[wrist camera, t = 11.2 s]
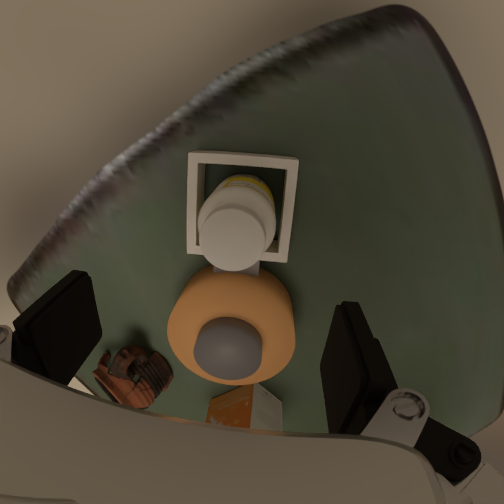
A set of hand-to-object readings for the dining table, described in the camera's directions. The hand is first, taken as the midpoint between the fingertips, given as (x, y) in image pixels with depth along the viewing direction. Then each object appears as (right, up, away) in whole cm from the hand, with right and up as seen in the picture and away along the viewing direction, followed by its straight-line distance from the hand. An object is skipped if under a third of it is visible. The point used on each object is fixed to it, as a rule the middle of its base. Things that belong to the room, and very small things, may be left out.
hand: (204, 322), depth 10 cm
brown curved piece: (-13, -12, +25) cm, 31 cm away
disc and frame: (0, +2, +18) cm, 18 cm away
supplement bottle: (+1, +7, +16) cm, 18 cm away
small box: (+1, -18, +27) cm, 32 cm away
